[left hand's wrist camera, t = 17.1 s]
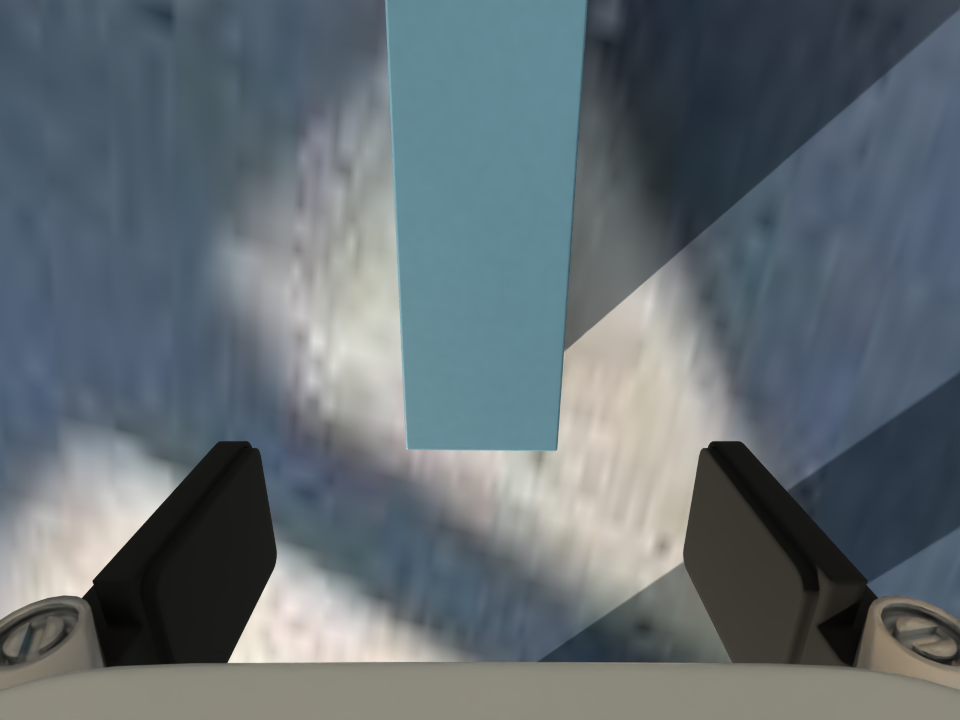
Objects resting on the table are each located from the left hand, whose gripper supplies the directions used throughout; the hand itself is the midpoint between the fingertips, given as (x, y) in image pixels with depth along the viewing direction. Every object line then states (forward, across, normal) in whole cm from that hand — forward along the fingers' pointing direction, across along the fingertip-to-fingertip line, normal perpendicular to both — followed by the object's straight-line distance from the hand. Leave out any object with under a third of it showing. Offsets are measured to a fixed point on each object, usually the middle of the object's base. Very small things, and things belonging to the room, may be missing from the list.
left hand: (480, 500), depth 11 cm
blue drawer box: (+17, 0, -4) cm, 17 cm away
